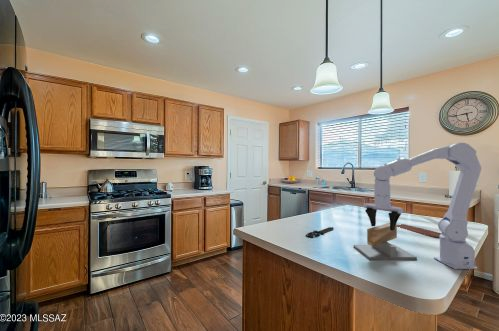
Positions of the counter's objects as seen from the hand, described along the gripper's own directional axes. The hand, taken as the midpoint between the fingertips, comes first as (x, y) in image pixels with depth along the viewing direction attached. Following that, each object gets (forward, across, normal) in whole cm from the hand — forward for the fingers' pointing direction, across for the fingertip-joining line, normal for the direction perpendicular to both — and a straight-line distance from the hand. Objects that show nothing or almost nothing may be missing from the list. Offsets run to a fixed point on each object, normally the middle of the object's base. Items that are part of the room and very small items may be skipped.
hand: (382, 227), depth 95 cm
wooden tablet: (+11, +6, -49) cm, 51 cm away
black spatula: (+11, +34, -3) cm, 36 cm away
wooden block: (+5, 0, 0) cm, 5 cm away
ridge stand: (+10, 0, 0) cm, 10 cm away
